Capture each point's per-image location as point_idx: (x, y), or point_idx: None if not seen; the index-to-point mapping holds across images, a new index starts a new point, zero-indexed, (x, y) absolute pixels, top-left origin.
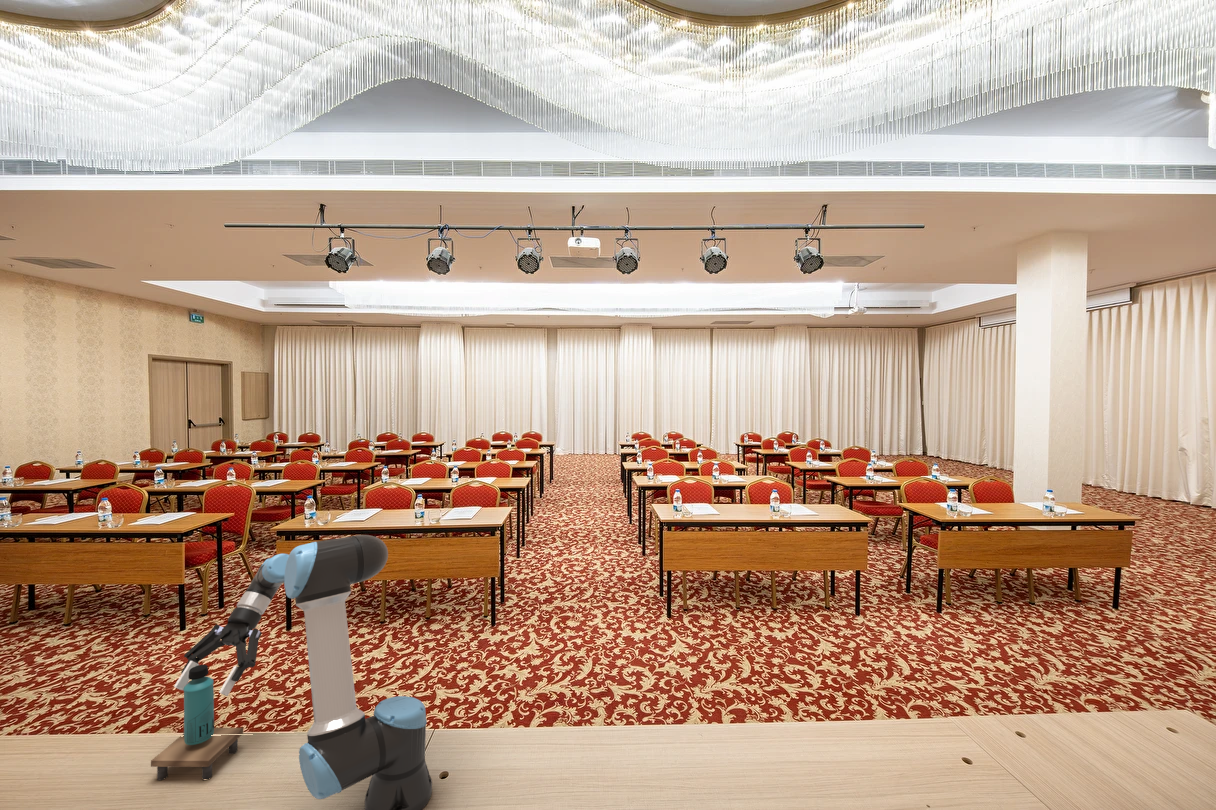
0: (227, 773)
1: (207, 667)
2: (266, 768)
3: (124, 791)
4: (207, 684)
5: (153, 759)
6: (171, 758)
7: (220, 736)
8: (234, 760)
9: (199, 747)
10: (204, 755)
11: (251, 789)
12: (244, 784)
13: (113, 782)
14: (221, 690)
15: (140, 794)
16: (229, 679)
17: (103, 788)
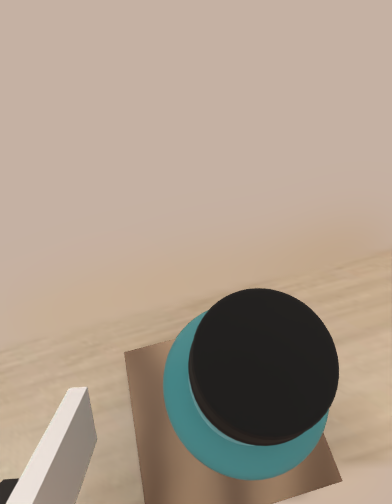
0: (116, 404)
1: (205, 402)
2: (25, 452)
3: None
4: (169, 378)
5: None
6: None
7: (188, 464)
8: (138, 457)
9: None
10: (154, 367)
11: (18, 373)
12: (45, 383)
13: (345, 309)
14: (72, 396)
15: None
16: (32, 459)
17: (341, 291)
